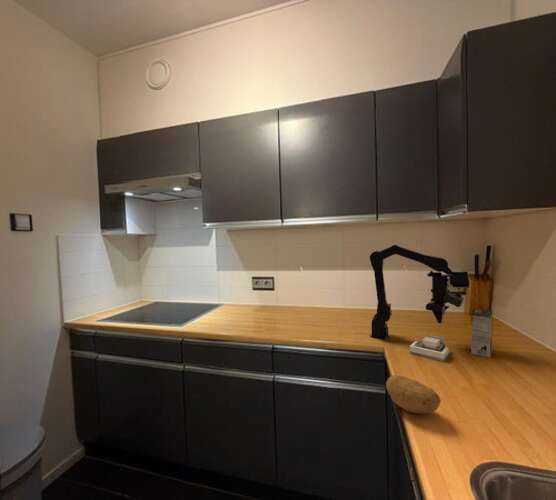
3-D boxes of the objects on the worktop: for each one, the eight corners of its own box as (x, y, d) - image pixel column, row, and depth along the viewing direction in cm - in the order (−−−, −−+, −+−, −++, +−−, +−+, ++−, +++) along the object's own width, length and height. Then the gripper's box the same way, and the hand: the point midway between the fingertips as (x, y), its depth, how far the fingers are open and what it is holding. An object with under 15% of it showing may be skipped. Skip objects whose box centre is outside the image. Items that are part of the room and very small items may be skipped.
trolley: (417, 351, 115) (417, 339, 114) (424, 344, 121) (424, 333, 120) (440, 356, 109) (440, 344, 109) (446, 349, 115) (446, 338, 115)
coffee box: (473, 346, 120) (473, 307, 119) (492, 349, 116) (492, 309, 115) (470, 353, 113) (470, 312, 112) (491, 357, 109) (491, 315, 108)
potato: (430, 430, 71) (430, 399, 71) (379, 405, 82) (379, 377, 82) (447, 414, 77) (447, 385, 77) (397, 392, 88) (397, 366, 88)
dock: (409, 353, 115) (409, 346, 115) (418, 345, 123) (418, 338, 123) (443, 361, 107) (443, 353, 107) (450, 352, 115) (450, 344, 115)
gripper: (456, 293, 111) (456, 333, 112) (466, 285, 124) (466, 321, 125) (425, 289, 118) (425, 327, 119) (437, 282, 132) (438, 316, 133)
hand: (439, 323), depth 124 cm, fingers closed
